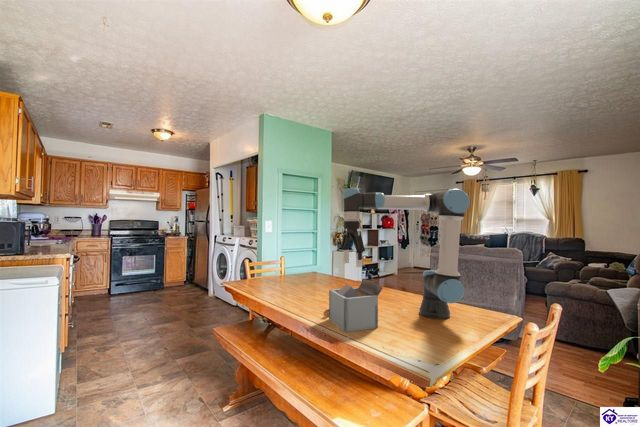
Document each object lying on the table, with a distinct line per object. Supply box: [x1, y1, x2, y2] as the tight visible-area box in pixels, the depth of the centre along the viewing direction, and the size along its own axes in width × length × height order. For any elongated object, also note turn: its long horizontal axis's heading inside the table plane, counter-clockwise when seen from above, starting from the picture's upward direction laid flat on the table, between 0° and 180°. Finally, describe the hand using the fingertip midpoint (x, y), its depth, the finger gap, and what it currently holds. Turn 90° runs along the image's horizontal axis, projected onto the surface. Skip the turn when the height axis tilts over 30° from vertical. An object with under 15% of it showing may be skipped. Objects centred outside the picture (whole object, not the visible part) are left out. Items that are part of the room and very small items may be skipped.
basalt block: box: [337, 283, 358, 298], centre depth 142 cm, size 6×6×9 cm
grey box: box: [328, 286, 379, 333], centre depth 143 cm, size 16×18×14 cm
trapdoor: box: [355, 278, 383, 297], centre depth 145 cm, size 18×14×4 cm
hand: (352, 265), depth 143 cm, fingers open, 13 cm apart
